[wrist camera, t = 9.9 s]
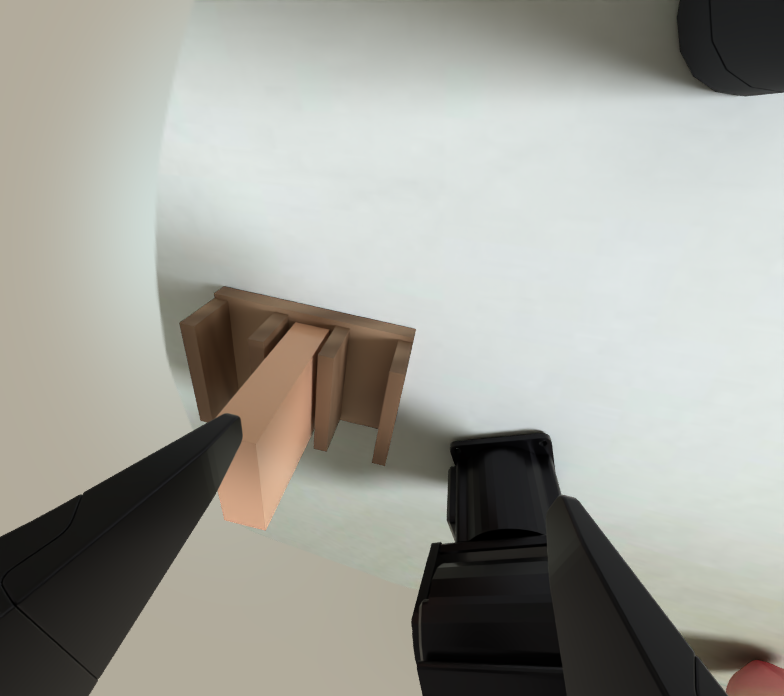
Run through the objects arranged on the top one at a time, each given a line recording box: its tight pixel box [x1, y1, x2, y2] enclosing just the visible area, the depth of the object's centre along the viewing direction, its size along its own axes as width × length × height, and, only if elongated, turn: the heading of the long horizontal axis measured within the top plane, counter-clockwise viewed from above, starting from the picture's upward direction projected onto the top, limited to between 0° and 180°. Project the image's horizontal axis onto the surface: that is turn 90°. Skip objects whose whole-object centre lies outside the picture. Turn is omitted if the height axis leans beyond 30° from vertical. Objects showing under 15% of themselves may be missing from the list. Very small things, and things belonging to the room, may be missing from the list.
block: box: [216, 322, 329, 531], centre depth 18 cm, size 2×6×8 cm, turn 172°
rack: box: [179, 287, 416, 466], centre depth 21 cm, size 12×8×4 cm, turn 81°
